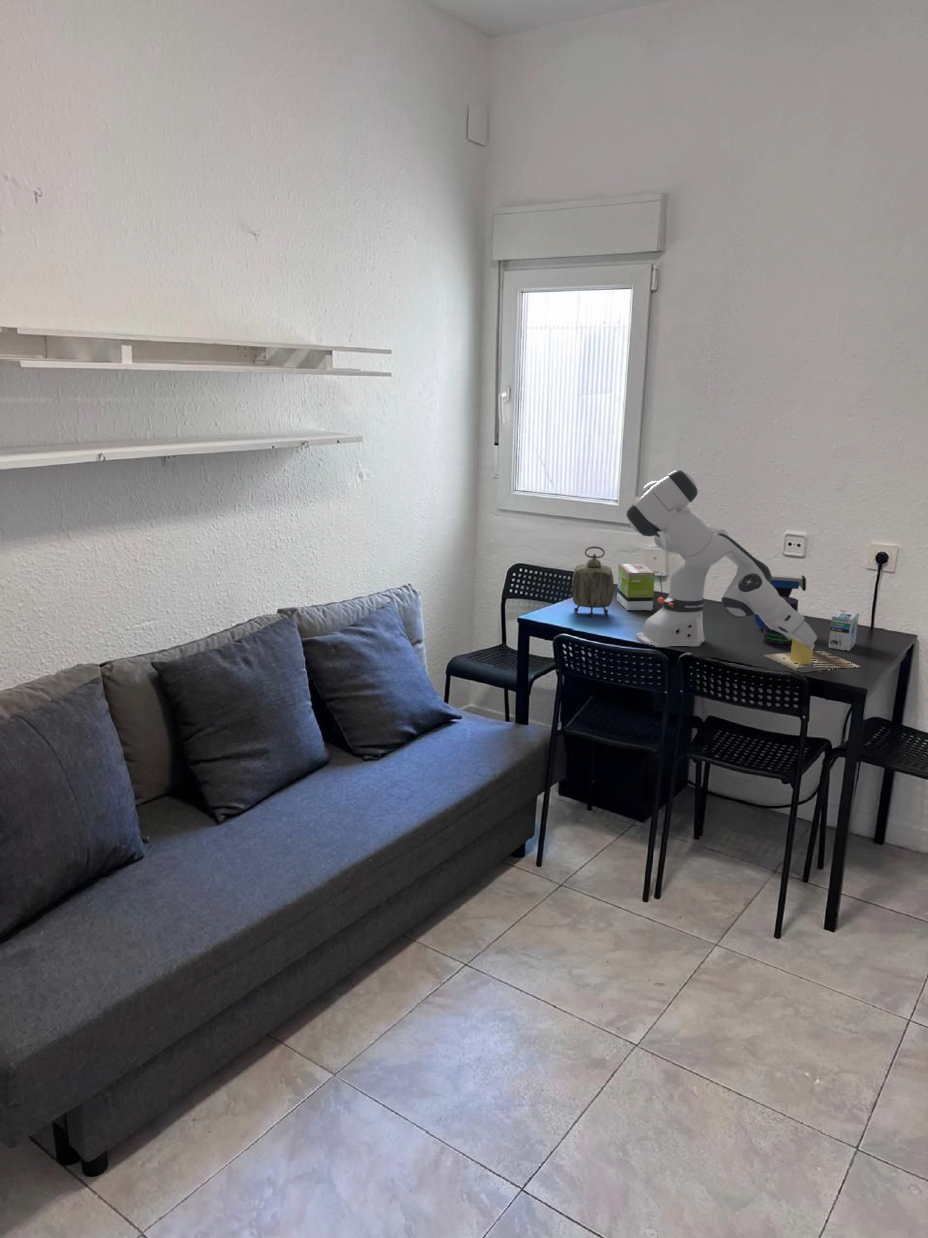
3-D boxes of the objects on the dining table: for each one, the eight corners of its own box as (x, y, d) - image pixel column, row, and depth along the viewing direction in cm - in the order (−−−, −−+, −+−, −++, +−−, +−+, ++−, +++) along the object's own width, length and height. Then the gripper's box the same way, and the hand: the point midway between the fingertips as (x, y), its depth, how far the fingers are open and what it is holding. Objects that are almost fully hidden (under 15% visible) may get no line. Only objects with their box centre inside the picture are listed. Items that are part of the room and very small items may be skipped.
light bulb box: (849, 651, 302) (853, 619, 299) (827, 648, 305) (831, 616, 302) (855, 643, 310) (859, 612, 308) (834, 640, 314) (838, 609, 311)
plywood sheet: (800, 673, 279) (801, 673, 279) (763, 655, 295) (763, 655, 295) (860, 667, 286) (860, 666, 286) (820, 649, 303) (820, 649, 303)
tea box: (615, 601, 359) (618, 563, 355) (641, 600, 360) (644, 563, 356) (626, 611, 345) (629, 571, 341) (653, 611, 346) (656, 571, 342)
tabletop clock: (610, 612, 342) (615, 545, 335) (611, 619, 333) (616, 550, 326) (570, 610, 343) (574, 543, 336) (570, 617, 334) (574, 548, 328)
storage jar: (799, 646, 306) (805, 602, 302) (773, 648, 303) (778, 603, 299) (781, 638, 315) (786, 594, 311) (756, 640, 312) (760, 596, 308)
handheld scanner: (801, 634, 319) (807, 577, 315) (752, 630, 322) (757, 574, 318) (799, 631, 324) (805, 575, 319) (750, 627, 327) (756, 572, 322)
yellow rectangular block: (800, 664, 287) (804, 635, 284) (789, 660, 291) (793, 630, 289) (811, 663, 288) (815, 634, 285) (800, 659, 292) (804, 630, 290)
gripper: (750, 613, 291) (774, 640, 296) (791, 632, 272) (816, 660, 278) (763, 598, 291) (787, 625, 296) (806, 616, 272) (830, 645, 278)
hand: (801, 642), depth 287 cm, fingers open, 8 cm apart
